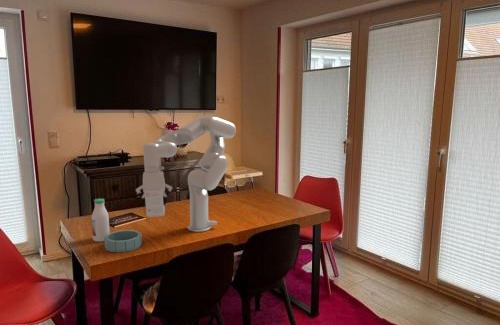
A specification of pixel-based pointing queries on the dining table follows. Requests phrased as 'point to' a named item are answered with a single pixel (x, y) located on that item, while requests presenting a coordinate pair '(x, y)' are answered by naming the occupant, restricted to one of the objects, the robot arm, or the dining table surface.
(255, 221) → the dining table surface
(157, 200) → the small box
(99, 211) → the milk bottle
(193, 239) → the dining table surface
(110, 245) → the bowl
